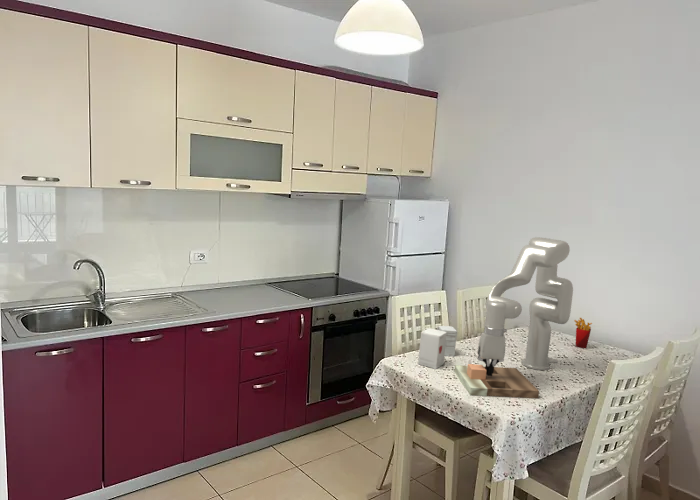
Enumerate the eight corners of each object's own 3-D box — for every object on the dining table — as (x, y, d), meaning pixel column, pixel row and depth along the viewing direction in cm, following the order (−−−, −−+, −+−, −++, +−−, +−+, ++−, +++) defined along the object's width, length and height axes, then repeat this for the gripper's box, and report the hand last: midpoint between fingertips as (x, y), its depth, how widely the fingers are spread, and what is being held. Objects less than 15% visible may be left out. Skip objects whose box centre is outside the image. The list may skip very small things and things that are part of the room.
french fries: (589, 346, 274) (593, 319, 272) (586, 350, 267) (590, 322, 265) (571, 342, 278) (575, 315, 276) (568, 346, 272) (572, 318, 269)
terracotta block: (481, 374, 214) (482, 364, 214) (485, 379, 208) (486, 370, 208) (466, 373, 214) (467, 364, 214) (470, 378, 208) (471, 369, 208)
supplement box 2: (435, 350, 249) (438, 325, 247) (450, 351, 250) (453, 326, 248) (439, 356, 242) (441, 330, 240) (454, 356, 243) (457, 330, 241)
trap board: (515, 374, 225) (516, 368, 224) (538, 398, 201) (539, 391, 201) (454, 371, 223) (454, 365, 223) (470, 395, 199) (470, 387, 199)
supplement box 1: (436, 369, 224) (439, 336, 222) (417, 364, 229) (420, 331, 227) (444, 364, 232) (447, 331, 230) (425, 359, 237) (428, 327, 235)
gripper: (508, 329, 213) (503, 372, 216) (472, 327, 212) (468, 370, 214) (515, 335, 206) (510, 379, 208) (478, 333, 204) (473, 377, 207)
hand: (488, 374), depth 211 cm, fingers closed
